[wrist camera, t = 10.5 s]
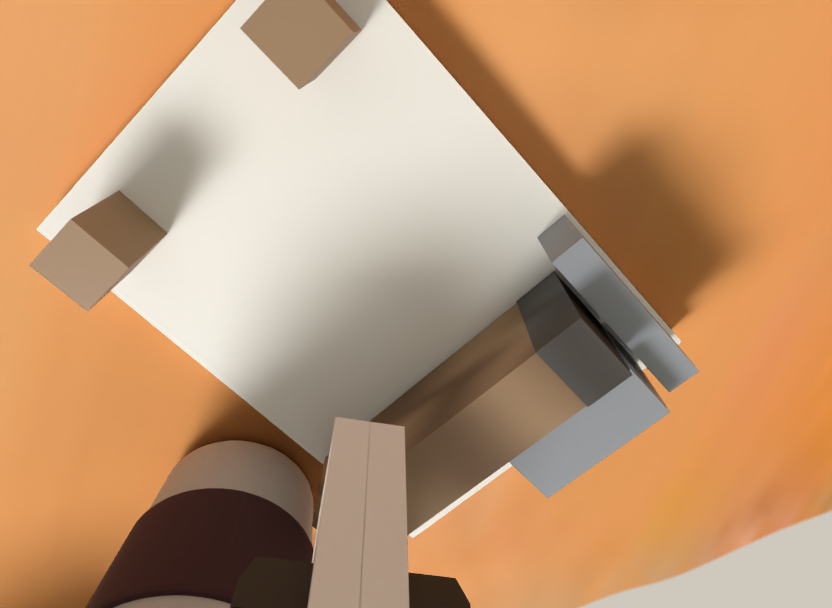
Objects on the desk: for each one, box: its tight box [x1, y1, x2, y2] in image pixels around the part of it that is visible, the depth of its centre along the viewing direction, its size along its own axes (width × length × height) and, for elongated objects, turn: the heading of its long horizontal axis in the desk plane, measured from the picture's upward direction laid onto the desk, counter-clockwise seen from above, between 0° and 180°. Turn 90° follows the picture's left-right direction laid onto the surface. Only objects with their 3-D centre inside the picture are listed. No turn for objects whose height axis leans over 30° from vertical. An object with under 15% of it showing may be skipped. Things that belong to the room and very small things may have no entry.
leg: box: [312, 271, 632, 535], centre depth 27 cm, size 14×3×5 cm, turn 133°
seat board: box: [30, 0, 699, 538], centre depth 26 cm, size 22×16×5 cm
